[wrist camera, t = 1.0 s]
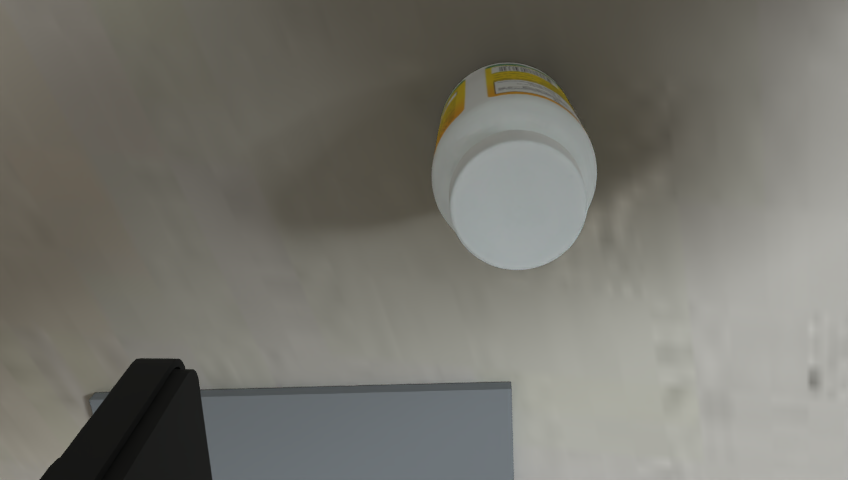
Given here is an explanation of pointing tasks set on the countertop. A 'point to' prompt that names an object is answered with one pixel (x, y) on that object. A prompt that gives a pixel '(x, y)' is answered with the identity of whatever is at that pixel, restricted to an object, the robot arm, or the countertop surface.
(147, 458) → the robot arm
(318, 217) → the countertop surface
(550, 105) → the supplement bottle
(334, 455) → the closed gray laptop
